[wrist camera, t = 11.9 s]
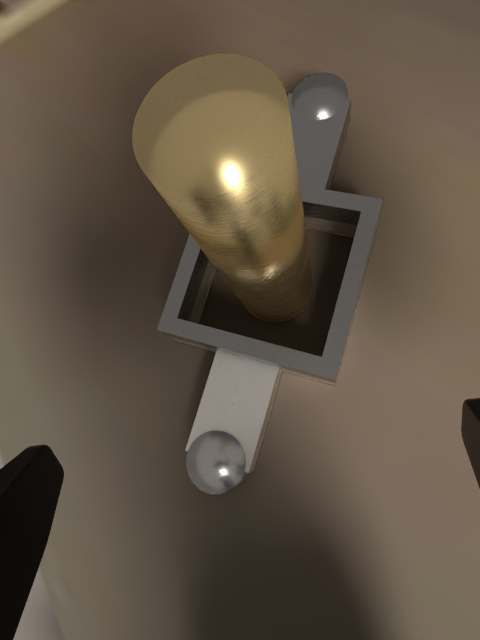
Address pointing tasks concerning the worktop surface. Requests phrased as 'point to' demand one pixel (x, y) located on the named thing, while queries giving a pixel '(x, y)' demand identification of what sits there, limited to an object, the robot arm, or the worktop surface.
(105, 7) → the worktop surface
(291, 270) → the brass pin
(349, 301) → the ball-tipped frame bar
